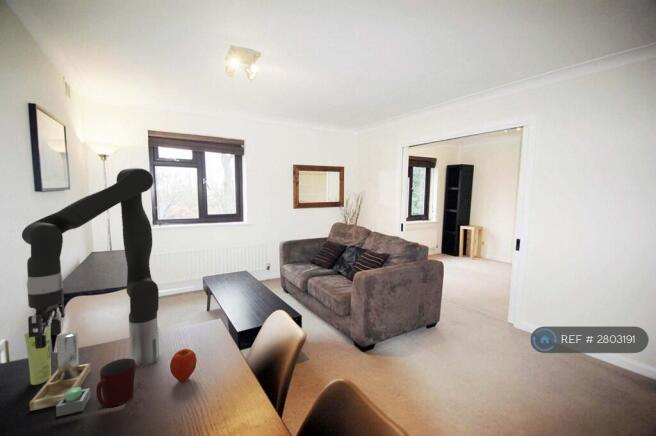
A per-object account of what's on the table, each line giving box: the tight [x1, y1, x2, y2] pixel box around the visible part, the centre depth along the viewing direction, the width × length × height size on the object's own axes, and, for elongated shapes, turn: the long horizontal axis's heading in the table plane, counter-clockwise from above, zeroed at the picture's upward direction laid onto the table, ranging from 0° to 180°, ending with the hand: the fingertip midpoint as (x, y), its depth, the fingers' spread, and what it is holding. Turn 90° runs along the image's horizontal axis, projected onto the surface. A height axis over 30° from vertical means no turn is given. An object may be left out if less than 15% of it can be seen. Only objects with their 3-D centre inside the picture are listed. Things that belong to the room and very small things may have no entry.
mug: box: [95, 357, 136, 409], centre depth 87 cm, size 12×9×11 cm
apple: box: [169, 348, 197, 383], centre depth 98 cm, size 9×8×11 cm
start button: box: [65, 386, 83, 403], centre depth 84 cm, size 4×4×3 cm
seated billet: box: [56, 331, 80, 381], centre depth 95 cm, size 5×5×16 cm
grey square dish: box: [55, 387, 91, 420], centre depth 84 cm, size 6×6×4 cm
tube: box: [24, 324, 52, 386], centre depth 95 cm, size 6×5×20 cm
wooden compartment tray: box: [29, 362, 92, 412], centre depth 92 cm, size 9×18×4 cm, turn 24°
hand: (49, 340), depth 85 cm, fingers open, 8 cm apart
